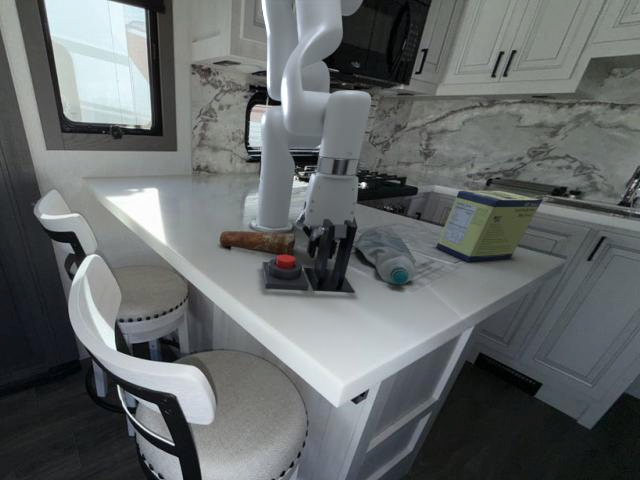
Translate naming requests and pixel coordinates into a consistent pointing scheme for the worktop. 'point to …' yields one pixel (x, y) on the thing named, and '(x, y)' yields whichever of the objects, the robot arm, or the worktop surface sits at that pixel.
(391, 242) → the crushed plastic bottle
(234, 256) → the worktop surface
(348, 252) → the bracket
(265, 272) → the button block
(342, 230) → the lever
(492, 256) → the protein box
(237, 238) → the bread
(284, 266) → the button
